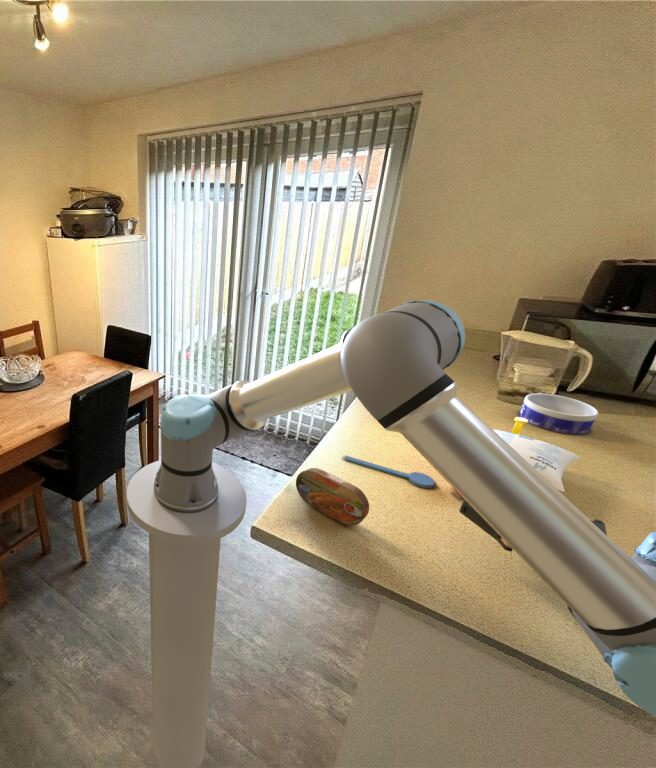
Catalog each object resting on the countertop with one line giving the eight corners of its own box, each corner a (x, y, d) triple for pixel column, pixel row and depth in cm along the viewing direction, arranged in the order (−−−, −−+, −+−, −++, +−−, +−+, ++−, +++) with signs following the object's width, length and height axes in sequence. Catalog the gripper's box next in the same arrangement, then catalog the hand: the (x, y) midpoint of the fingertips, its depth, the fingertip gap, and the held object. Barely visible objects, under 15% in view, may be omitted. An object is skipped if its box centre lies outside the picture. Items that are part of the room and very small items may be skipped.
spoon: (343, 463, 100) (343, 460, 100) (347, 454, 104) (347, 451, 103) (432, 491, 90) (433, 487, 89) (433, 480, 93) (435, 476, 93)
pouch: (486, 415, 106) (462, 437, 94) (586, 447, 92) (572, 477, 80) (475, 440, 109) (451, 465, 97) (571, 474, 95) (555, 507, 84)
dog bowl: (599, 439, 108) (609, 420, 105) (526, 427, 115) (534, 408, 112) (577, 416, 120) (585, 398, 117) (512, 406, 127) (519, 389, 124)
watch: (510, 432, 112) (517, 413, 110) (523, 435, 110) (531, 417, 108) (505, 439, 109) (512, 420, 107) (518, 443, 107) (526, 424, 105)
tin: (292, 495, 89) (297, 464, 86) (300, 489, 91) (305, 459, 88) (359, 534, 78) (367, 500, 75) (366, 527, 80) (375, 493, 76)
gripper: (472, 577, 62) (426, 493, 81) (679, 618, 56) (577, 516, 74) (488, 542, 59) (436, 463, 78) (708, 580, 53) (594, 484, 71)
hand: (505, 489), depth 76 cm, fingers open, 13 cm apart
